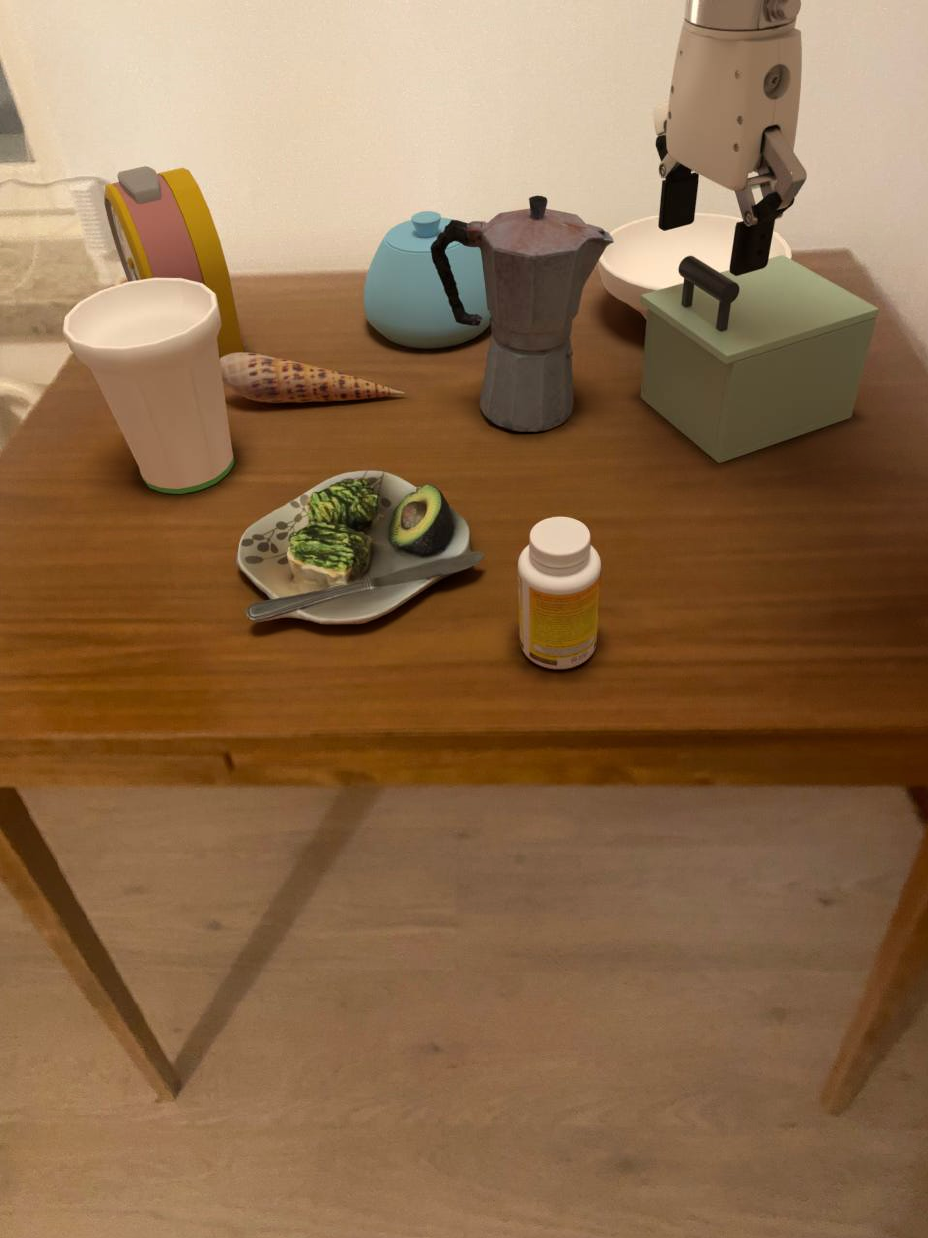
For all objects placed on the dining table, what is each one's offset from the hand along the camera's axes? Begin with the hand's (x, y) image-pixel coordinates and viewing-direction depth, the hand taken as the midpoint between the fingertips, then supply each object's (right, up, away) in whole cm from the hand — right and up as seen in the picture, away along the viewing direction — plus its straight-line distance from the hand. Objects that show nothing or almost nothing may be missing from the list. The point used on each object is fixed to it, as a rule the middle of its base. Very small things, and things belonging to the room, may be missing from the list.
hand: (710, 247), depth 78 cm
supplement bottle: (-13, -32, -8) cm, 35 cm away
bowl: (+4, +3, +27) cm, 27 cm away
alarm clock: (-49, 0, +28) cm, 57 cm away
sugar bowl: (-23, +3, +29) cm, 37 cm away
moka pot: (-14, -10, +15) cm, 23 cm away
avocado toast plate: (-28, -25, +1) cm, 37 cm away
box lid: (+5, -3, +6) cm, 9 cm away
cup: (-45, -16, +11) cm, 49 cm away
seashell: (-35, -8, +18) cm, 40 cm away
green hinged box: (+6, -10, +13) cm, 18 cm away
